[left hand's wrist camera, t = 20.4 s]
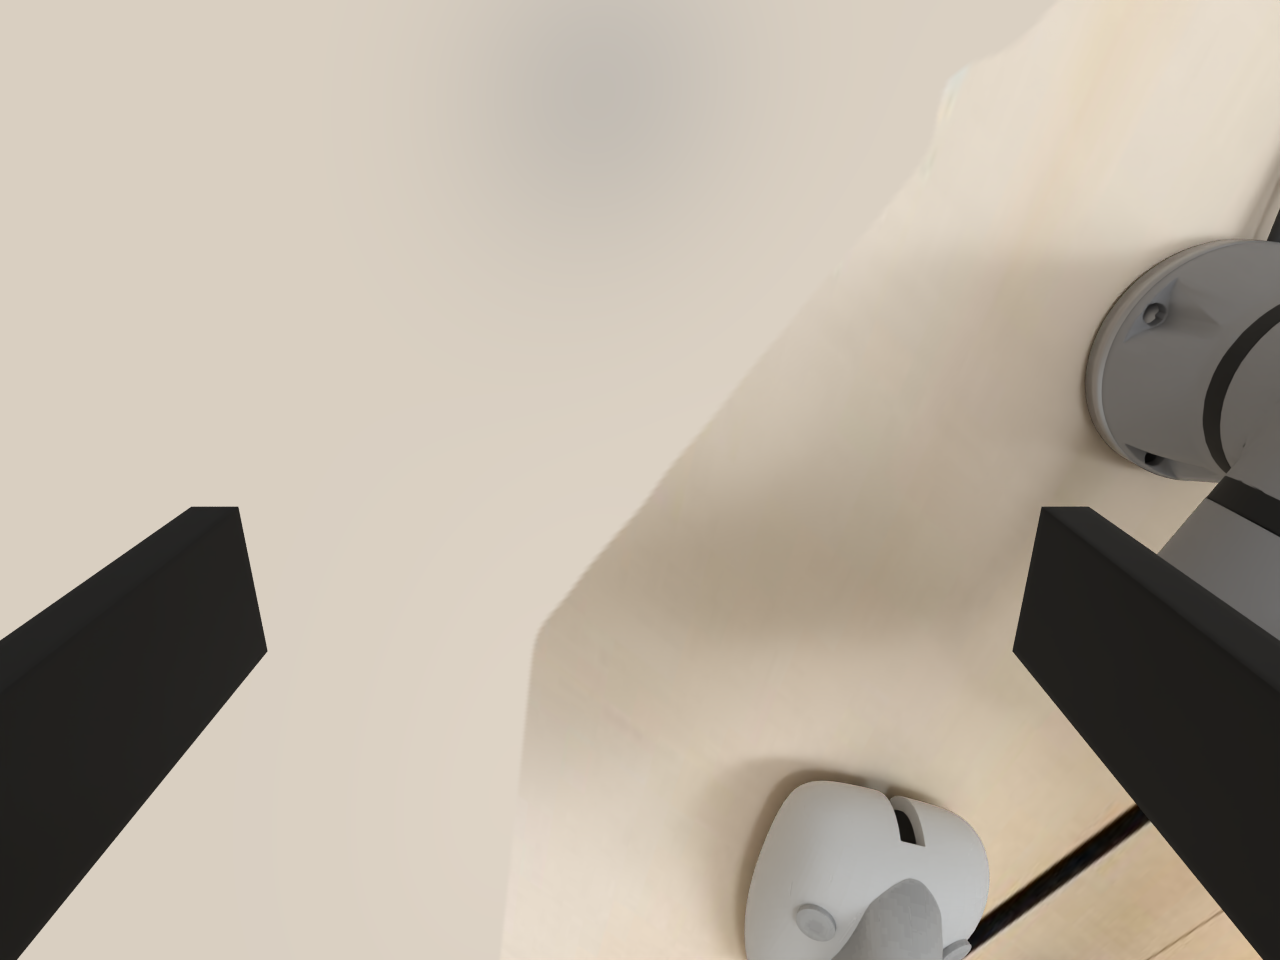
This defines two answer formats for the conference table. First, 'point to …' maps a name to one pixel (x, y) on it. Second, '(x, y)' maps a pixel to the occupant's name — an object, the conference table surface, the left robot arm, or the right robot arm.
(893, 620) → the conference table surface
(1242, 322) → the left robot arm
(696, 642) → the conference table surface
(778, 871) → the projector
